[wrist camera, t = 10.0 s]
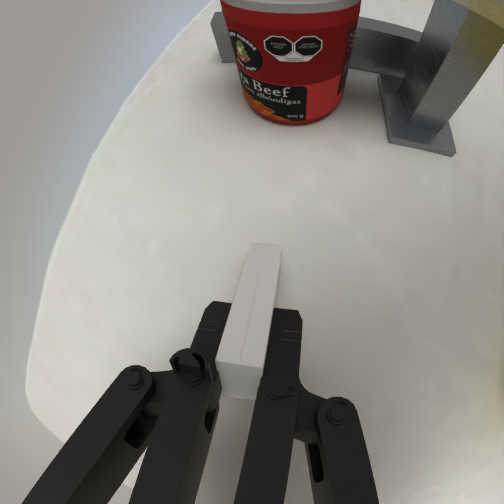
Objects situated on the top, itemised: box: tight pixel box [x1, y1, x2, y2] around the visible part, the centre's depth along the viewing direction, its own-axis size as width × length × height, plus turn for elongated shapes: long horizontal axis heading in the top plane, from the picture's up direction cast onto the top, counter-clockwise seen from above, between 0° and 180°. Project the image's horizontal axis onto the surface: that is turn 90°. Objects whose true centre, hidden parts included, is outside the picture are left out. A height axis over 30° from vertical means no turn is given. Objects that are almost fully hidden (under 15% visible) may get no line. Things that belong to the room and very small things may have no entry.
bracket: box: [210, 0, 504, 157], centre depth 11 cm, size 10×20×16 cm, turn 84°
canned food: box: [220, 0, 361, 125], centre depth 14 cm, size 8×8×11 cm
